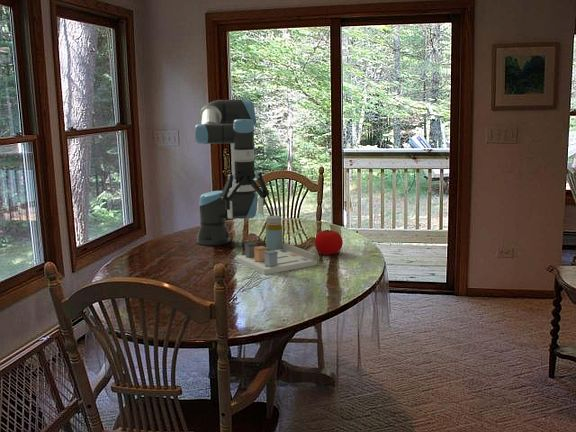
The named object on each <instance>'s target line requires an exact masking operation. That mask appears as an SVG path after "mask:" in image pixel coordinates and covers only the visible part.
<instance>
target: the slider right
mask: <svg viewBox="0 0 576 432" xmlns="http://www.w3.org/2000/svg"><path fill="white" fill-rule="evenodd" d="M277 254H278V252H277V251H274V250H269V251H264V256H265V265H267V266H275V265H277Z"/></svg>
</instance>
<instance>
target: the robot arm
mask: <svg viewBox="0 0 576 432" xmlns="http://www.w3.org/2000/svg"><path fill="white" fill-rule="evenodd" d="M256 116H257V115H256V111H255V106H254V103H253V101H252V100H250V99H216V100H213V101H211V102H208V103H207V104H205V105H204V106H203V107H202V108H201V109H200V111H199V117H198V118H199V121H200V122H201V123H199V124H196V125H195V126H194V133H195V134H194V135H195V138H194V139H195V142H196V144H200V145H210V144H211V145H212V144H230V145H231V147H230V150H231V174H227V175H226V176H227V177H226V182H225V184H224V186H223V189H222V190H213V191H209V192H205V193H202V194H201V195H200V196H199V201H198V202H199V203H198V206H199V230H198V232H197V236H196V243H197V244H199V245H203V246H219V245H225V244H228V243H230V241H231V237H230V233H229V231H228V228H227V224H226V220H237V219H239V220H242V219H244V220H247V219H253V218H255V217H256V214H257V213H258V214H259V215H264V206H266V198H267V196H270V191H269V189H268V187H267V185H266V183H265V180H264V179H263V173H262V172H260V171H257V172H255V161H254V160H255V132H254V131H255V126H257V117H256ZM254 179H256V181H257V182H256V181H255V180H254ZM257 183H258V184H257ZM258 185H259V186H258Z"/></svg>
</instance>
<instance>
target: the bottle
mask: <svg viewBox="0 0 576 432" xmlns="http://www.w3.org/2000/svg"><path fill="white" fill-rule="evenodd" d="M265 247H267V251H269V250H279V249H283V226H282V217H281V215H273V214H272V215H267V216H266V226H265Z"/></svg>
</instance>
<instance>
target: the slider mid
mask: <svg viewBox="0 0 576 432" xmlns="http://www.w3.org/2000/svg"><path fill="white" fill-rule="evenodd" d="M264 251H267V247H266V246H264V245H260V246H258V245H257V247H254V257H255V260H256V261H258V262H261V261H265V256H264Z"/></svg>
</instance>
